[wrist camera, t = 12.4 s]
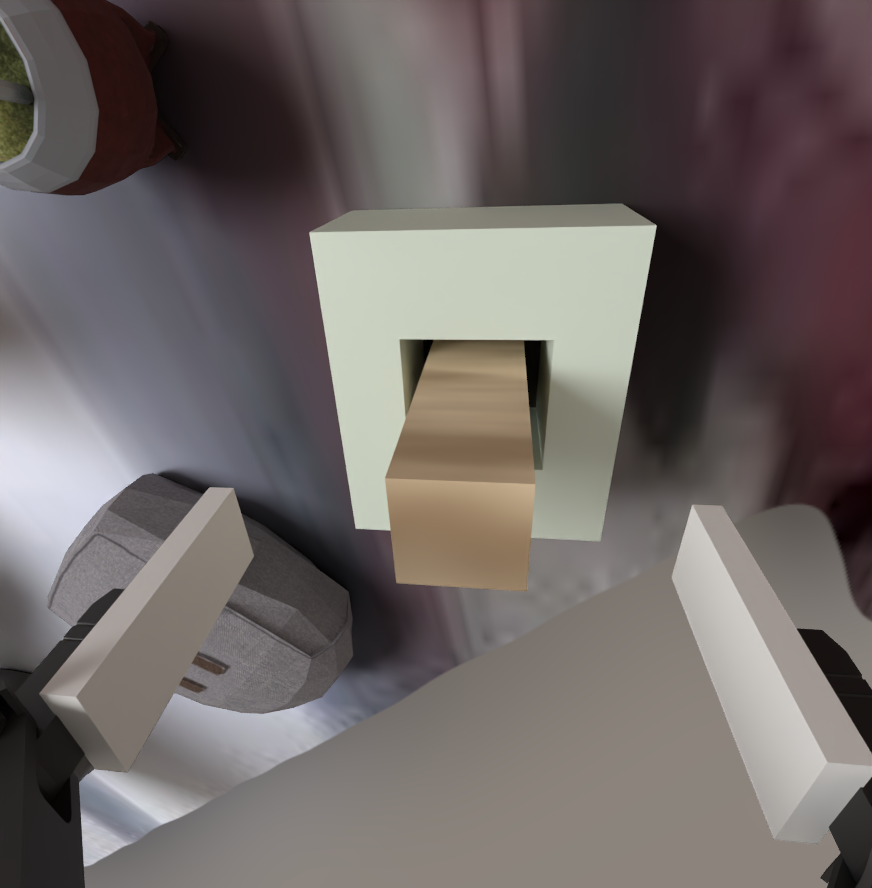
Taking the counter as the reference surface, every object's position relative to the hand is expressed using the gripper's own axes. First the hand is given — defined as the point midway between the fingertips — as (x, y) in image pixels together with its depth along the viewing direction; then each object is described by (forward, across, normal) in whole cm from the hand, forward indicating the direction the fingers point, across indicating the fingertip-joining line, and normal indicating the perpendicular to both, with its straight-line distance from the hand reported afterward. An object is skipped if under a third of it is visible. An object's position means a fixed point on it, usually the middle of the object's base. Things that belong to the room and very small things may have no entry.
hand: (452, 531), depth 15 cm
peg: (+14, 0, 0) cm, 14 cm away
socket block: (+14, 0, 0) cm, 14 cm away
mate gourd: (+14, +15, -12) cm, 24 cm away
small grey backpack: (+14, +17, +17) cm, 28 cm away
